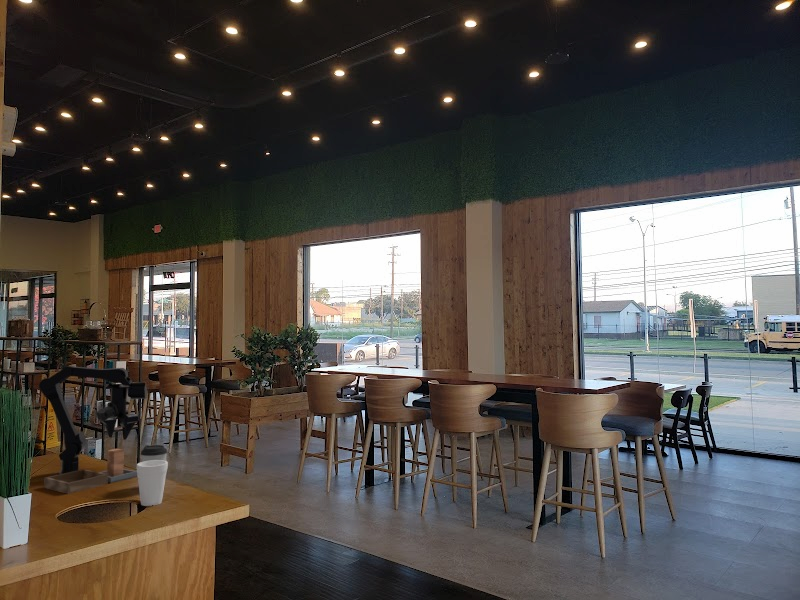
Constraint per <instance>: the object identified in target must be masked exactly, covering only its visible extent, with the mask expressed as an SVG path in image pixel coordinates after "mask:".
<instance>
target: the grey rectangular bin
mask: <svg viewBox="0 0 800 600" xmlns="http://www.w3.org/2000/svg"><path fill="white" fill-rule="evenodd" d="M99 473H104V474H107V470H104V471H99ZM133 478H138V474H137V470H132V469H131V470H130V469H126V468H124V469H123V474H122V475H118V476H114V477H109V476H108V482H107V484H115V483H117V482H118V483H119V482H121V481H126V480H130V479H133Z"/></svg>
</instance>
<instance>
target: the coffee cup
mask: <svg viewBox="0 0 800 600" xmlns="http://www.w3.org/2000/svg"><path fill="white" fill-rule="evenodd" d="M167 450H168V449H167V448H166V447H165V446H164V445H161V444H156V445H145V446H144V447H143V449H141V451H140V462H144V461H151V460H164V461H167V462H168V460H167V456H168V451H167Z"/></svg>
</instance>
